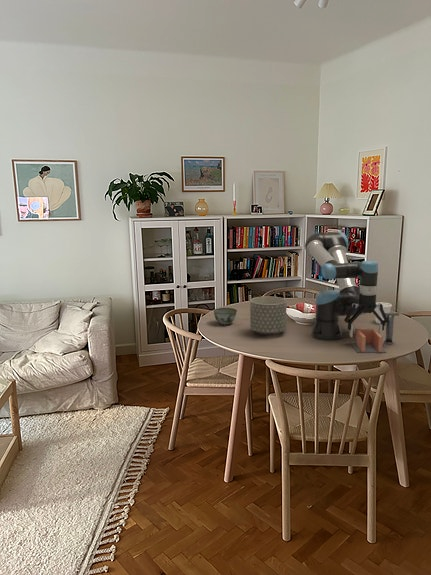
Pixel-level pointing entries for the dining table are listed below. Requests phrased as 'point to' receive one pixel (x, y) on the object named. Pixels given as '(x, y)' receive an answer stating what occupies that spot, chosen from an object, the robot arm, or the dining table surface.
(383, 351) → the mat
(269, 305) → the planter
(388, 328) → the stand
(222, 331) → the dining table surface
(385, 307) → the cup
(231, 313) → the bowl
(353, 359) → the dining table surface
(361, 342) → the c link
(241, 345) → the dining table surface
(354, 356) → the dining table surface
